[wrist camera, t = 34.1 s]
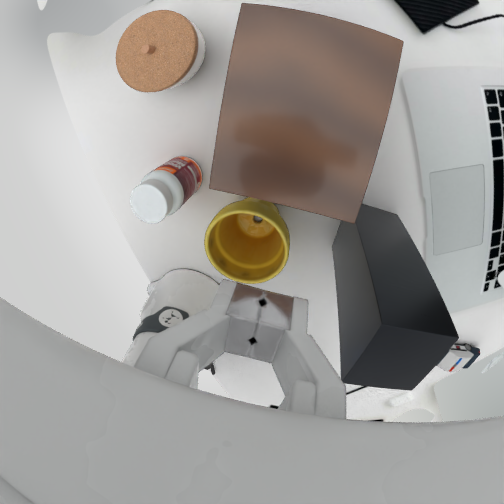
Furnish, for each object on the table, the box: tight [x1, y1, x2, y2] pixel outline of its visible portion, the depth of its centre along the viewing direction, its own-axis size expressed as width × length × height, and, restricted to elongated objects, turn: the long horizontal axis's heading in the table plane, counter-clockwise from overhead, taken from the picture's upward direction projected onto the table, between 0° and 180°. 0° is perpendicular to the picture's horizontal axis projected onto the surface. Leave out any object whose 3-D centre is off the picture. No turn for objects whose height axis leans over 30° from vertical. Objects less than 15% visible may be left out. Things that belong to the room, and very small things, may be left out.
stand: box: [332, 204, 459, 390], centre depth 31 cm, size 8×8×24 cm
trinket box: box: [116, 10, 206, 92], centre depth 28 cm, size 11×11×9 cm
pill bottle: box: [130, 156, 202, 224], centre depth 36 cm, size 6×6×11 cm
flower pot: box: [204, 197, 290, 284], centre depth 39 cm, size 10×10×10 cm
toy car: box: [436, 344, 480, 372], centre depth 48 cm, size 5×16×5 cm, turn 80°
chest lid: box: [209, 3, 403, 224], centre depth 21 cm, size 18×14×1 cm
